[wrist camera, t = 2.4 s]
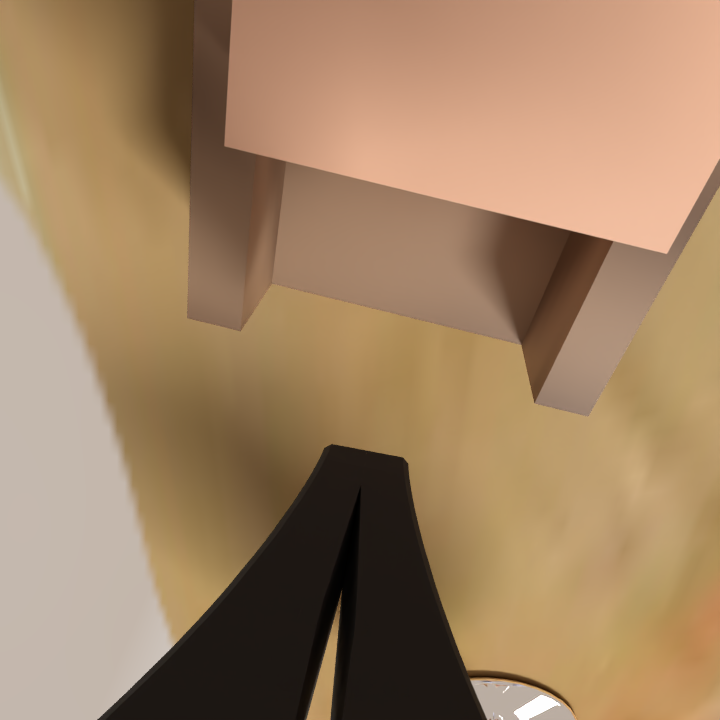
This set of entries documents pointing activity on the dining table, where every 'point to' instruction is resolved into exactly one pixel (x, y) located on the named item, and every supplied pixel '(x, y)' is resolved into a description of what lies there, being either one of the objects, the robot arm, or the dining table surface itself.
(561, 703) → the wineglass
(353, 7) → the block
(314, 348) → the dining table surface
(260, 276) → the shallow wooden tray
